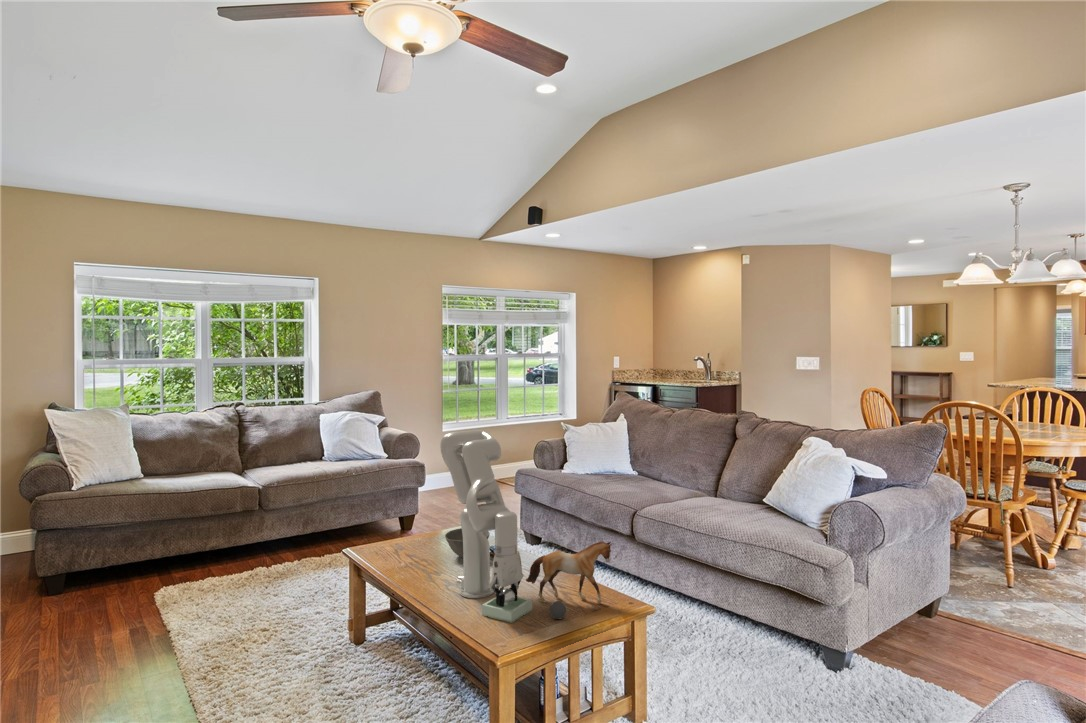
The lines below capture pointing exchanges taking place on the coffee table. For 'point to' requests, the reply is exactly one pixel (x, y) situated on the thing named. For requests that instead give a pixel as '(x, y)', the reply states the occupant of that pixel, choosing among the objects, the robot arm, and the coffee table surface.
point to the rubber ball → (558, 610)
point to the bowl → (458, 540)
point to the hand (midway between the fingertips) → (506, 602)
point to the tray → (507, 609)
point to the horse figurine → (570, 566)
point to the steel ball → (508, 596)
